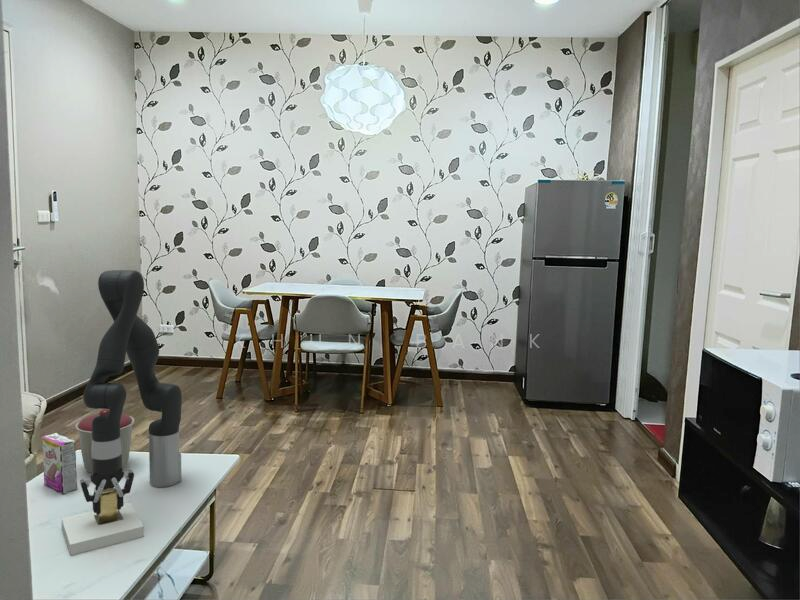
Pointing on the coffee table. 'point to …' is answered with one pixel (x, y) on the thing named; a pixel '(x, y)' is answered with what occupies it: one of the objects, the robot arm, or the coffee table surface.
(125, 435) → the canister
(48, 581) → the coffee table surface
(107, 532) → the jig
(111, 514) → the gold metal peg
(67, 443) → the candy bar box
